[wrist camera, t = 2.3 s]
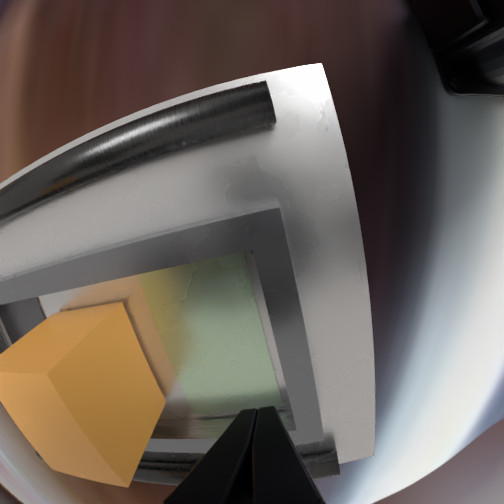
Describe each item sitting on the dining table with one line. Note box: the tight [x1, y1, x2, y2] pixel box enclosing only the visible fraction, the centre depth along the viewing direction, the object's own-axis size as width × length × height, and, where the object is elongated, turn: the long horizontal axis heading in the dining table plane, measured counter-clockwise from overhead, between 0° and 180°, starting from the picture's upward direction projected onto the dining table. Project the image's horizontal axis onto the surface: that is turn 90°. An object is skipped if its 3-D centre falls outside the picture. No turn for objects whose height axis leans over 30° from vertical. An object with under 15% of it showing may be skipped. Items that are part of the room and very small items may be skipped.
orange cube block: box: [0, 302, 166, 488], centre depth 9 cm, size 4×5×5 cm
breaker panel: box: [0, 63, 375, 486], centre depth 12 cm, size 24×18×4 cm
